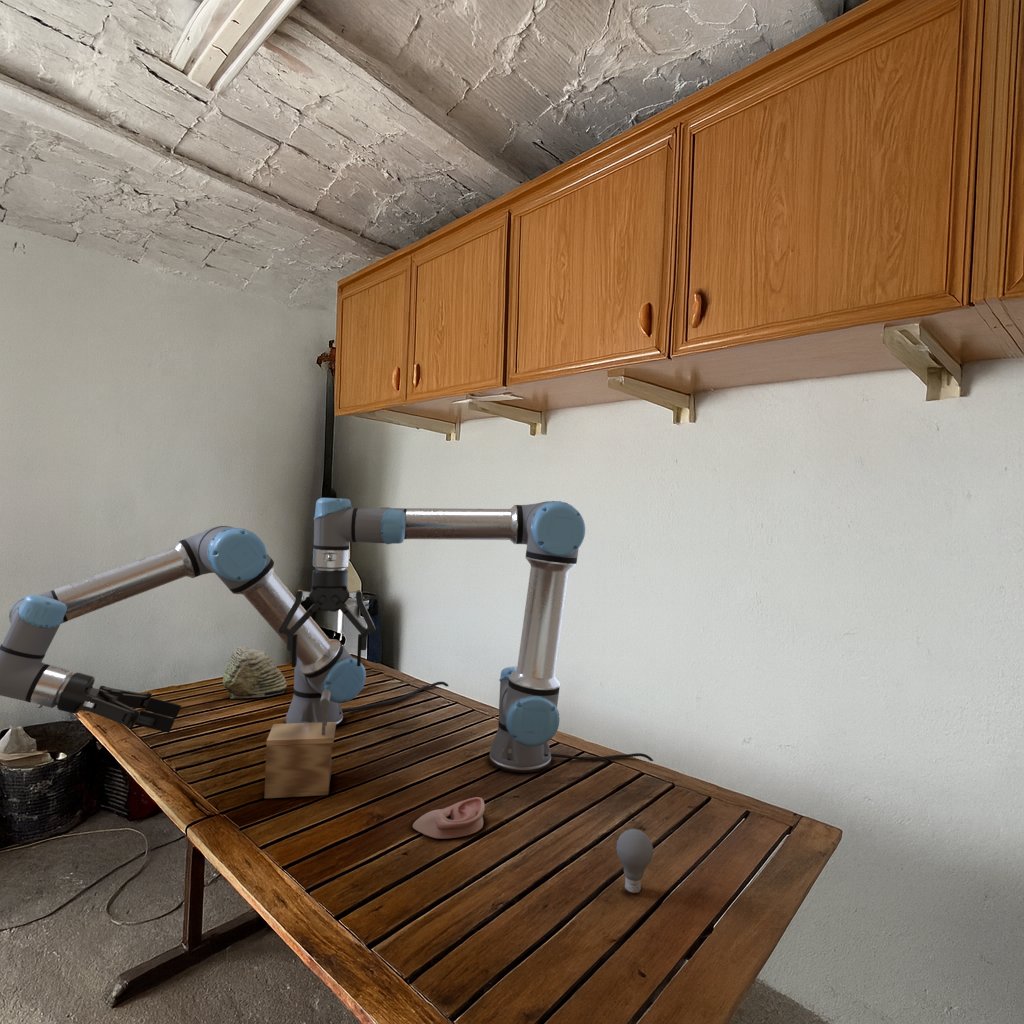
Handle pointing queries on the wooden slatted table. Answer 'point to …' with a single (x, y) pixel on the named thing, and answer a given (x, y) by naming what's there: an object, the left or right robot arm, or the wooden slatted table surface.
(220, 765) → the wooden slatted table surface
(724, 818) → the wooden slatted table surface
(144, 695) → the left robot arm
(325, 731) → the lid
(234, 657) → the fossil
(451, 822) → the anatomical model
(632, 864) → the light bulb
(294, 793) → the chest
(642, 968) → the wooden slatted table surface
